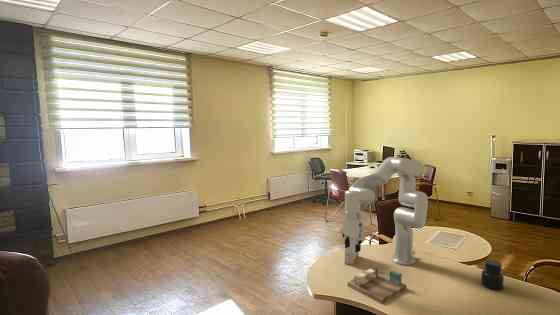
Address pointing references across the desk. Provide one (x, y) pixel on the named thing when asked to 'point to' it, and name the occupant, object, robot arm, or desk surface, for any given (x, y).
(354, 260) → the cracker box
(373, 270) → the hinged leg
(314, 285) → the desk surface
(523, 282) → the desk surface
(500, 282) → the ink bottle
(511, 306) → the desk surface
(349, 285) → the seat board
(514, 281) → the desk surface
